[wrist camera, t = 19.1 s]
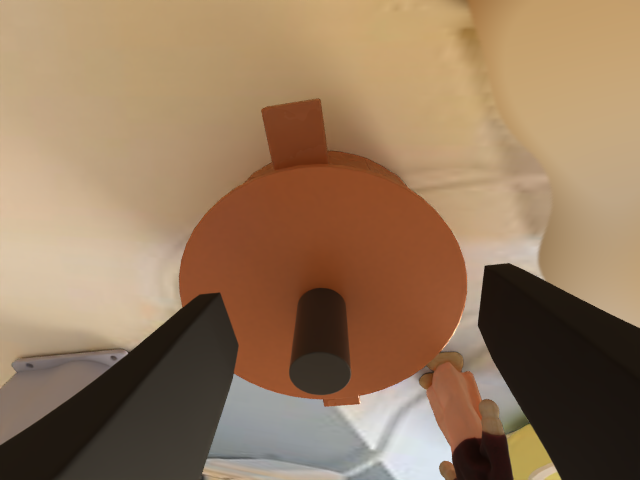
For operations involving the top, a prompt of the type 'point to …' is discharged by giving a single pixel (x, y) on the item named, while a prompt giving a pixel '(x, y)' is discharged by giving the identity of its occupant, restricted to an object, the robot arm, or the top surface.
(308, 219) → the pot lid
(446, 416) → the grandmother figurine
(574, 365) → the robot arm
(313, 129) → the pot
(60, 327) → the top surface
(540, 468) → the emoji
